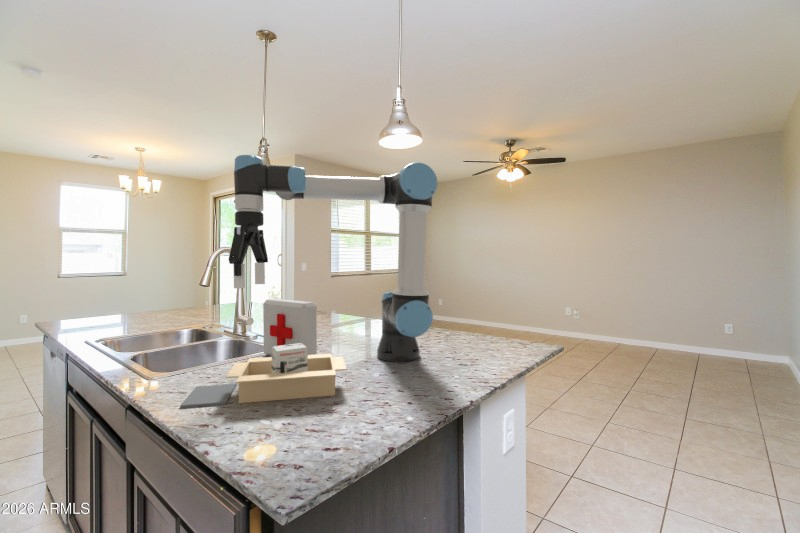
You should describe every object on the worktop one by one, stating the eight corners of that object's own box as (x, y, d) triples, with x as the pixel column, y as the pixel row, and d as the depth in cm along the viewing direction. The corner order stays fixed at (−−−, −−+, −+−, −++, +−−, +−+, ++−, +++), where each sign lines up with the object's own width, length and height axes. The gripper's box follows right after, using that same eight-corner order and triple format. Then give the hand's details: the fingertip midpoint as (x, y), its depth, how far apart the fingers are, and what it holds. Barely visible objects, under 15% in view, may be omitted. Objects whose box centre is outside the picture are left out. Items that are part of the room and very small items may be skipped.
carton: (341, 374, 114) (341, 352, 114) (348, 399, 94) (348, 373, 94) (238, 381, 107) (238, 358, 107) (222, 410, 87) (221, 382, 87)
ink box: (276, 396, 96) (275, 350, 96) (271, 390, 100) (270, 346, 100) (308, 389, 101) (308, 346, 101) (302, 384, 105) (302, 342, 105)
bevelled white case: (259, 356, 133) (258, 300, 133) (277, 351, 140) (277, 298, 140) (301, 365, 122) (301, 304, 122) (318, 360, 129) (318, 302, 128)
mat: (236, 385, 104) (236, 383, 104) (226, 404, 91) (225, 401, 91) (196, 388, 101) (196, 386, 101) (180, 407, 89) (180, 405, 89)
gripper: (254, 216, 120) (255, 282, 120) (213, 206, 95) (214, 290, 95) (277, 215, 119) (278, 282, 120) (242, 206, 94) (243, 290, 95)
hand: (250, 286), depth 108 cm, fingers open, 13 cm apart
